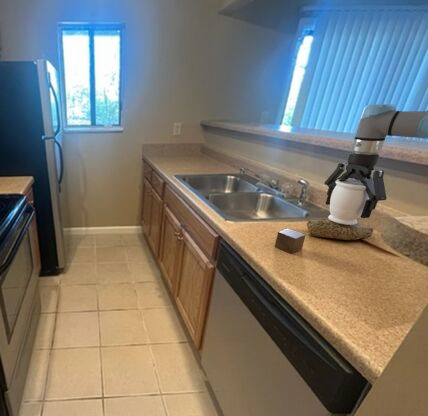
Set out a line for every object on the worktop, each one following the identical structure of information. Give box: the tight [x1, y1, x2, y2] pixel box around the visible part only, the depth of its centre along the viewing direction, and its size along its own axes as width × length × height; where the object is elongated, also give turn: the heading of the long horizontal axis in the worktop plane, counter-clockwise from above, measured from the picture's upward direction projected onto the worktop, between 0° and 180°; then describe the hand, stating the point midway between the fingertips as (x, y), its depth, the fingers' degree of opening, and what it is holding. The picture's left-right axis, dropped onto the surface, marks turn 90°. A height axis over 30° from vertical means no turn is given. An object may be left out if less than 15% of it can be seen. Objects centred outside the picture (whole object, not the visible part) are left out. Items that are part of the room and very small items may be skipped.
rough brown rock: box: [306, 218, 374, 241], centre depth 104 cm, size 13×8×20 cm
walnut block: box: [274, 228, 307, 255], centre depth 96 cm, size 6×6×6 cm
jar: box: [327, 178, 369, 225], centre depth 100 cm, size 11×10×15 cm
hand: (345, 210), depth 101 cm, fingers open, 13 cm apart
